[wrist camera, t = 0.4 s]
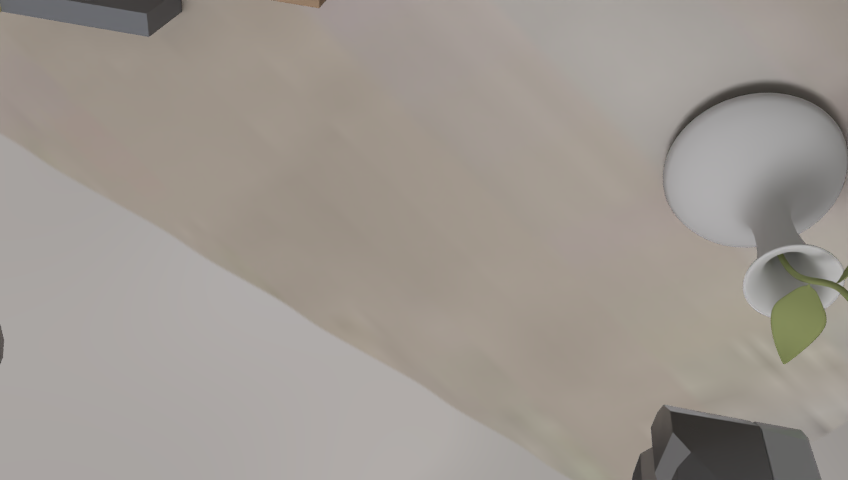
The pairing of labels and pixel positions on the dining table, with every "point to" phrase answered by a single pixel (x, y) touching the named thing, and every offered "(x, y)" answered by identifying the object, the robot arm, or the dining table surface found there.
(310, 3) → the wooden block
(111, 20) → the bay
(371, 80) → the dining table surface
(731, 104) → the flower in vase
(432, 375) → the dining table surface
